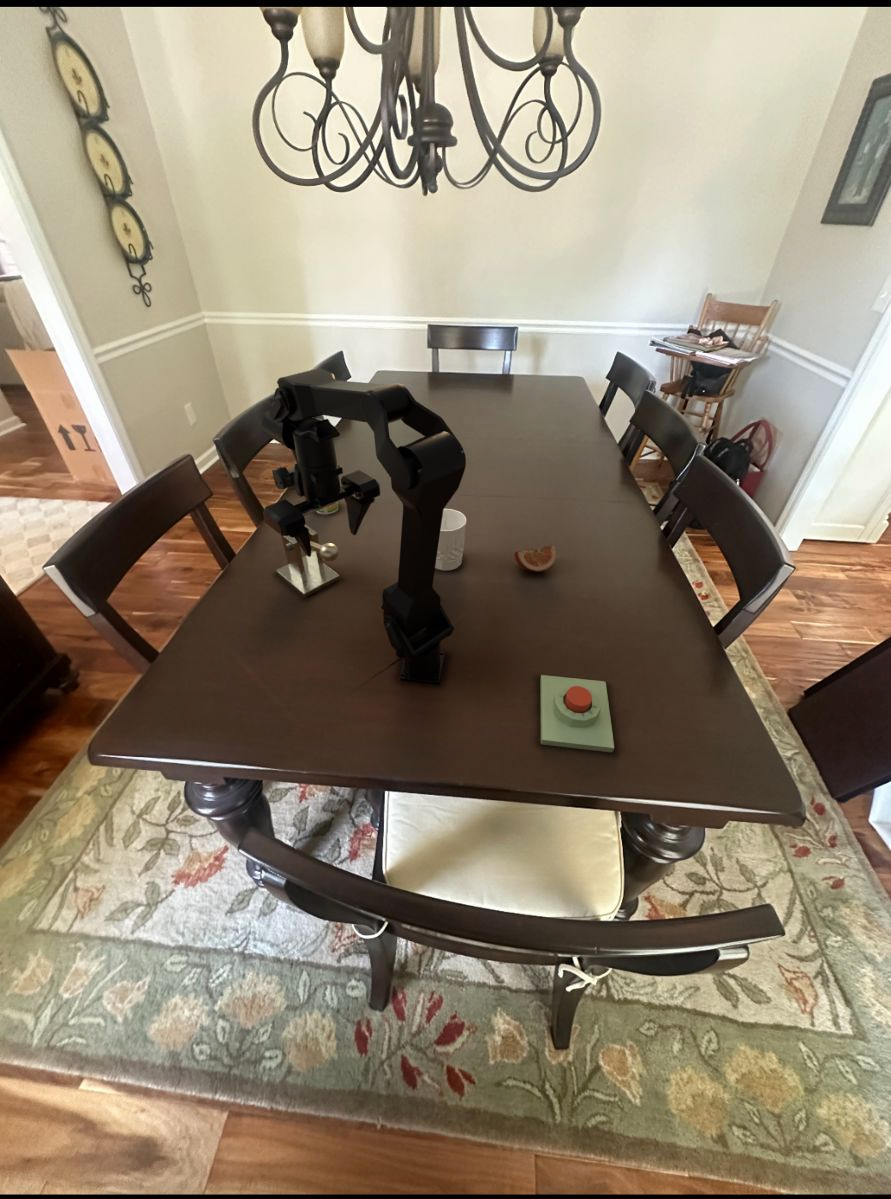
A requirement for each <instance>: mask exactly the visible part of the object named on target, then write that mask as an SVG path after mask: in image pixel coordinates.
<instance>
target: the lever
mask: <svg viewBox="0 0 891 1199" xmlns="http://www.w3.org/2000/svg"><path fill="white" fill-rule="evenodd" d="M293 538H294V537H293ZM294 539H295V538H294ZM310 544H311V550H313V551H316V552H318V553H320V556H321V558H322V560H323V561H325V562H329V563H330V562H331V563H332V562H334V561H335V560H337V559H338V557H339V552H340V551H339V548H338V547H337V546H336V544H334V543H331V542H327V543H324V544H320V543H319V544H317V543H314V542H312V541H310ZM299 546H300V545H299ZM300 551H301V552H304V551H303V550H302V548H301V547H300Z"/></svg>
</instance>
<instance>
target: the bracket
mask: <svg viewBox="0 0 891 1199" xmlns="http://www.w3.org/2000/svg"><path fill="white" fill-rule="evenodd" d="M305 527H307V528H308V529H309V537H310V541H312V542H314V543H317V544H320V539H319V534H318V532H317V531H315V530H313V528H311V527H309V526H308V525H307V524H305ZM280 537H281V540H282V544H283V548H284V552H285V557H286V561H287V564H286V565H283V566H282V567H279V568H277V569H276V575H277V576H278V577H279V578H281V579H282V580H284V581H285V582H286V583H287V585H289V586H290V587H291V588H292V589H294V590H295V591H297V593H299V594H300V595H301V596H303V598H308V597H309V596H311V595H313V594H315V593H316V592H318V591H320V590H322V589H325V588H326V587H328V586H329V585H331V584H333V583H335V582H337V581H339V580H341V577H340V574H339V573H337V572H336V571H335V570H333V569H332V568H331V567H329V566H328V565H326V564H325V563H324V560H323V559H322V558H321V556H320V553H318V552H316V551H313V550H311V556H310V557H308V556H307V555H306V554H305V555H304V556H303V554H302V551H300V546H299V544H298V542H297V541H296V539H294V538H293V537H290V536H282V535H280Z"/></svg>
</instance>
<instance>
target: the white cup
mask: <svg viewBox="0 0 891 1199" xmlns="http://www.w3.org/2000/svg"><path fill="white" fill-rule="evenodd" d="M466 517H467V516H466V515H465V514H464V513H463V512H461V511H459V510H456V509H452V508H444V510H443V516H442V523H441V530H440V537H439V544H438V551H437V558H436V565H435V570H439V571H443V572H445V571H446V572H448V571H452V570H453V571H454V570H456V569H458V568H459V567H460V566H461V565H462V562H463V556H464V550H465V541H466V532H467V531H466V530H467V518H466Z"/></svg>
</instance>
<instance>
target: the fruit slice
mask: <svg viewBox="0 0 891 1199" xmlns="http://www.w3.org/2000/svg"><path fill="white" fill-rule="evenodd" d="M557 554H558V553H557V545H556V544H553V545H547V546H543V547H539V548H530V549H527V548H526V549H522V550H517V551H516V552H514V559H515V562H516V563H517V565H518V566H519V567H520V568H521V569H522V570H525V571H527V572H531V573H540V572H544V571H546V570H548V569H550V568H551V567H552V566H553V565H554V564H555V562H556V559H557Z"/></svg>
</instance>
